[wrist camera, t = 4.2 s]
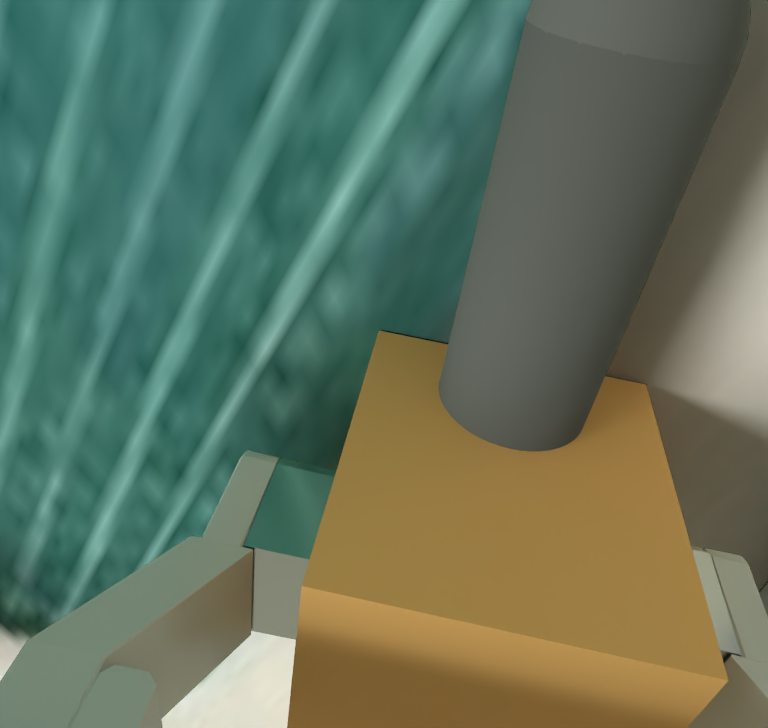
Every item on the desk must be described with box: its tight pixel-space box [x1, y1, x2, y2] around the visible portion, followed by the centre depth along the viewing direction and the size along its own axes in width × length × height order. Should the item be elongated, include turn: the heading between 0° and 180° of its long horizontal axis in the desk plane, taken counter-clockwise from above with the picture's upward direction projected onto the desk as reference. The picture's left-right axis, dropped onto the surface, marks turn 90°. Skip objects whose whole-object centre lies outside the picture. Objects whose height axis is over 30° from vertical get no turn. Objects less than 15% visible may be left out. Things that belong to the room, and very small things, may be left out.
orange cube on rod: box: [287, 0, 751, 728], centre depth 10 cm, size 18×4×4 cm, turn 172°
